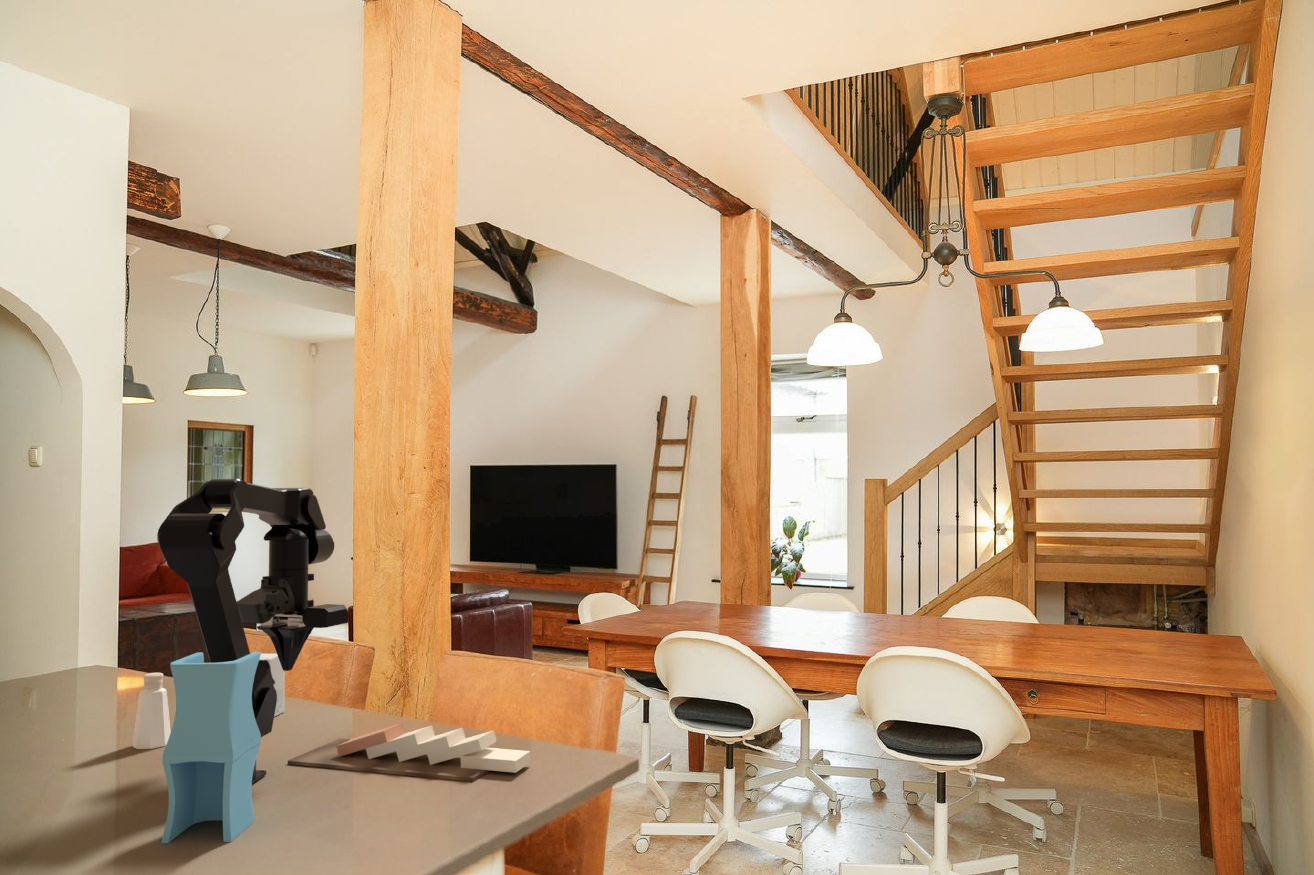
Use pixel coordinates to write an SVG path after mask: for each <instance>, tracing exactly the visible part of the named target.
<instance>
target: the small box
mask: <svg viewBox="0 0 1314 875" xmlns="http://www.w3.org/2000/svg"><path fill="white" fill-rule="evenodd" d="M259 660H267V661H268V663H269V664H270V668H271V674H272V677H273V679H274V681H275V684H273V685H274V688H275V690H276V693H277V703H276V709H275V714H274V718H275V717H277V716H280V715H281V714H283V713H285V711H286V671H283V669H282V666H281V664H280V661H279V658H278V655H277V653H261V655H260V659H259Z"/></svg>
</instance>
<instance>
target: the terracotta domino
mask: <svg viewBox="0 0 1314 875" xmlns="http://www.w3.org/2000/svg"><path fill="white" fill-rule="evenodd" d="M405 733H406V731H405V728H404V724H403V722H401V723H397V724H394V725H391V726H388V727H385V728H381V729H378V730H375V731H372V732H368V733H366V734H365V733H364V734H362V735H358V736H356V737H353V738H351V740H349V741H347V742H345V743H342V744H340V745H338V746H336V747H337V750H338V754H339V757H340V756H344V755H347V754H350V753H353V752H356V751H360V750H363V749H366V748H369V747H372V746H376V745H379V744H382V743H385V742H388V741H390V740H392V739H394V738H396V737H398V736H401V735H403V734H405Z"/></svg>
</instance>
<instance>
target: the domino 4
mask: <svg viewBox="0 0 1314 875" xmlns="http://www.w3.org/2000/svg"><path fill="white" fill-rule="evenodd" d="M529 764H531V751H530V750H522V749H521V750H520V749H509V748H508V749H507V748H497V747H486V748H484V749H483V750H481V751H477V752H474V753H470V754H467V755H463V756H461V768H470V769H481V770H490V771H492V772H493V771H495V772H504V773H514V774H515V773H517V772H519V771H520V770H522V769H523V768H525V767H526V766H528V765H529Z"/></svg>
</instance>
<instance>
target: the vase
mask: <svg viewBox="0 0 1314 875" xmlns="http://www.w3.org/2000/svg"><path fill="white" fill-rule="evenodd" d="M261 654H262V651H254V652H250V654H249V655H246V656H244V657H242V658H240V659H237V660H235V661H228V662H218V663H210V662H205V656H204V652H195V653H192V654H190V655H187V656H184V657H182V658H180V659H177V660H174V661H172V662H170V670H171V671H170V672H171V675H172V678H173V684H174V689H175V691H174V692H175V714H174V718H173V723H172V727H171V729H170V730H171V733H170V736H169V739H168V742H167V744H166V746H164V747H165V748H164V750H163V752H162V766H163V770H164V774H165V779H166V784H167V792H168V809H167V810H168V811H167V817H166V822H165V827H164V830H163V834H162V837H161V842H160V844H169V843H170V842H172V841H173V840H174V839H175V838H176V837H178V836H180V835H181V833H183V832H184V831H185V830H187V829H188V828H189V827H191V826H192V825H195V824H198V823H202V822H208V821H209V822H210V821H222V834H223V836H222V838H223V843H231V842H233V841H234V840H235V839H236V838H237V837H239V836H240V834H242V833H243V832H245V830H246V829H247V828H249V826H251V825H252V824H253V823H254V822H255V820H256V818H255V816H256V815H255V811H254V805H253V797H252V795H253V794H252V785H253V784H252V776H253V770H254V765H255V761H256V762H257V756H258V753H259V750H260V746H261V742H262V741H261V740H262V737H261V734H260V731H259V728H258V726H257V723H256V720H255V717H254V712H253V707H252V687H253V681H254V676H255V672H256V669H257V665H258V662H259V659H260V655H261Z"/></svg>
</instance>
